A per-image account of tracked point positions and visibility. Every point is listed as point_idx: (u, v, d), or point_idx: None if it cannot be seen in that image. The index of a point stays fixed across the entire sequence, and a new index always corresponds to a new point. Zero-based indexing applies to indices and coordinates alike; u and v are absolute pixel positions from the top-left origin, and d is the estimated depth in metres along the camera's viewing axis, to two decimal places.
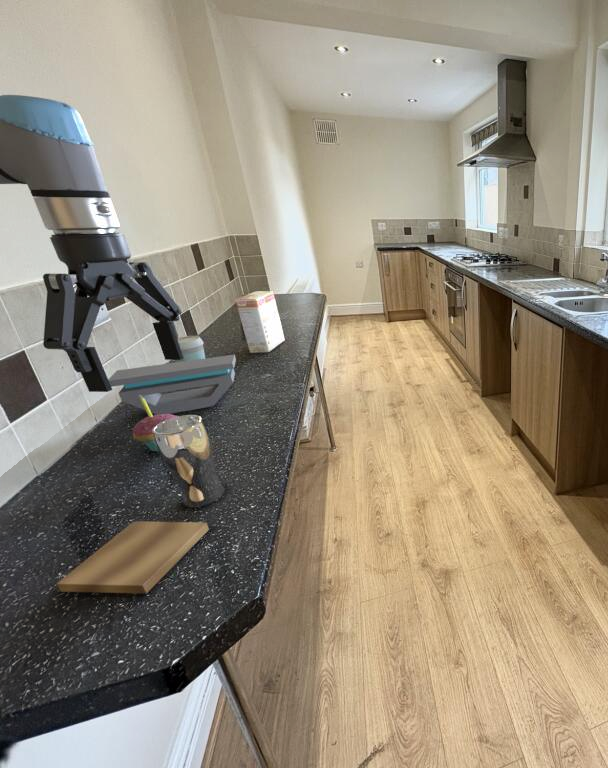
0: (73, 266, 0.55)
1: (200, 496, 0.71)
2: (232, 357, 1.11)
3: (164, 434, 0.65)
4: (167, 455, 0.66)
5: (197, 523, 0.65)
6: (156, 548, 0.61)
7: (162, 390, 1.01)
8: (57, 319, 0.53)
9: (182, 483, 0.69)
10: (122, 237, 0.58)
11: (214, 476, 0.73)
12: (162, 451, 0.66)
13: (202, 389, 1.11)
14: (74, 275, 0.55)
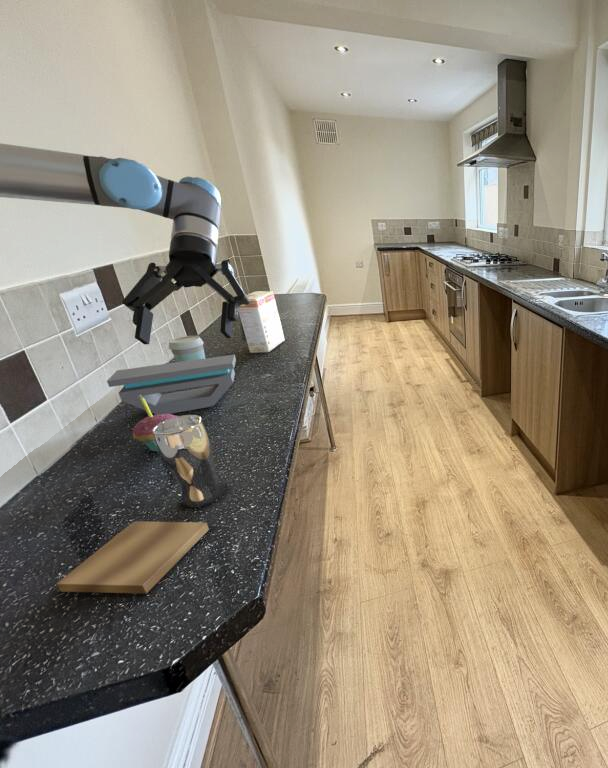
0: (214, 262, 0.83)
1: (200, 496, 0.71)
2: (232, 357, 1.11)
3: (164, 434, 0.65)
4: (167, 455, 0.66)
5: (197, 523, 0.65)
6: (156, 548, 0.61)
7: (162, 390, 1.01)
8: (240, 287, 0.82)
9: (182, 483, 0.69)
10: None
11: (214, 476, 0.73)
12: (162, 451, 0.66)
13: (202, 389, 1.11)
14: None
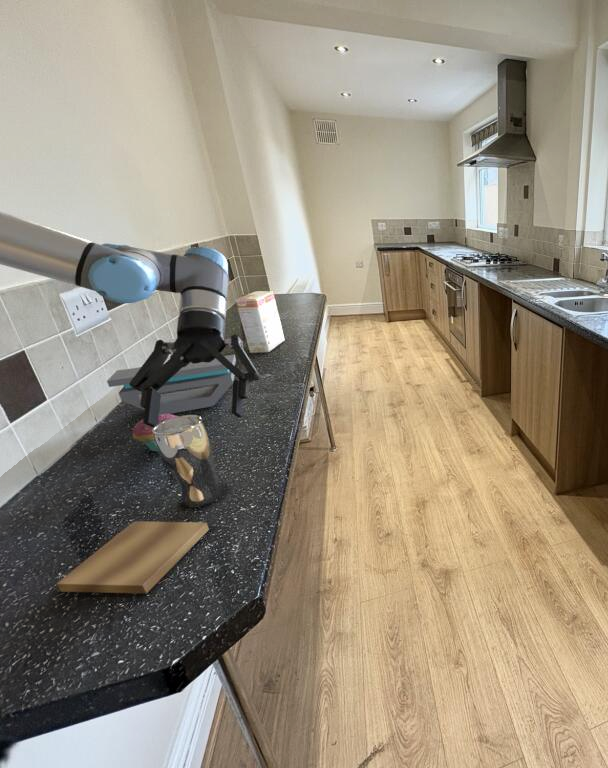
0: (223, 336, 0.81)
1: (200, 496, 0.71)
2: (232, 357, 1.11)
3: (164, 434, 0.65)
4: (167, 455, 0.66)
5: (197, 523, 0.65)
6: (156, 548, 0.61)
7: (162, 390, 1.01)
8: (250, 362, 0.80)
9: (182, 483, 0.69)
10: None
11: (214, 476, 0.73)
12: (162, 451, 0.66)
13: (202, 389, 1.11)
14: None
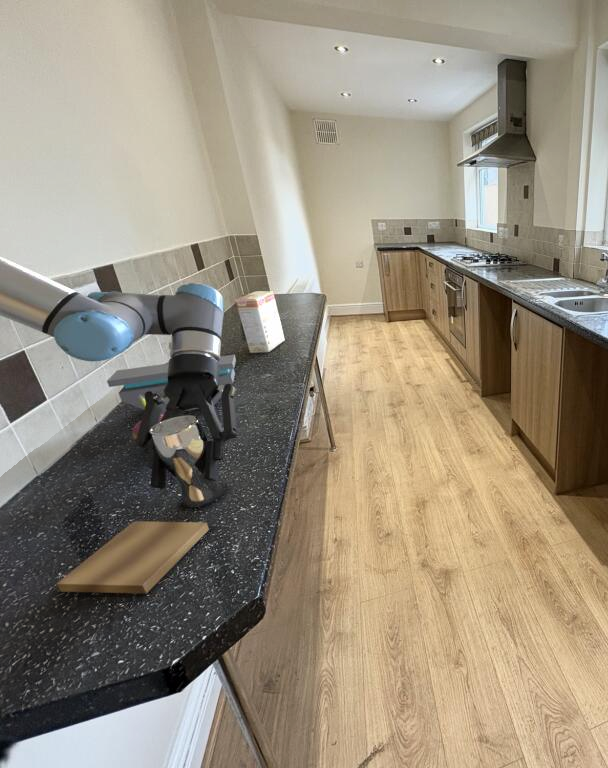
0: (217, 379, 0.76)
1: (200, 496, 0.71)
2: (232, 357, 1.11)
3: (161, 434, 0.65)
4: (165, 456, 0.66)
5: (197, 523, 0.65)
6: (156, 548, 0.61)
7: None
8: (234, 416, 0.74)
9: (181, 483, 0.69)
10: None
11: None
12: (160, 451, 0.66)
13: None
14: None
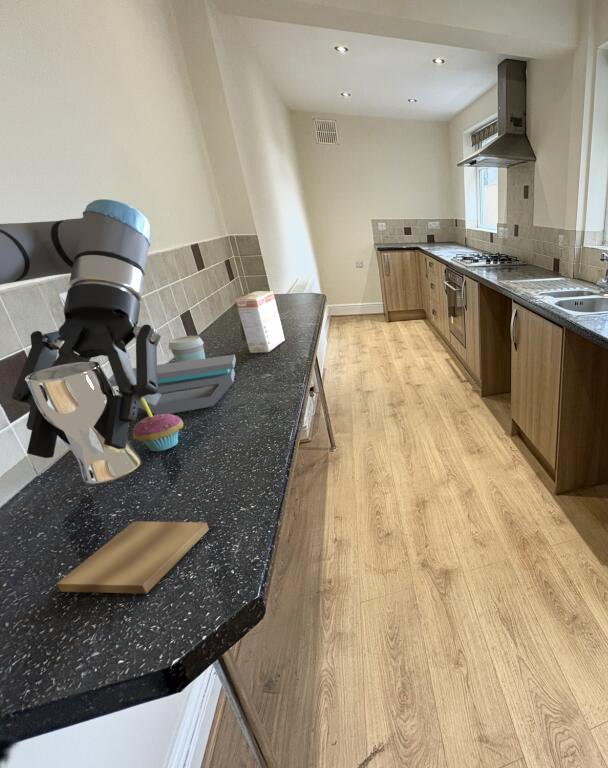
0: (133, 320, 0.59)
1: (103, 468, 0.54)
2: (232, 357, 1.11)
3: (39, 381, 0.48)
4: (47, 412, 0.49)
5: (197, 523, 0.65)
6: (156, 548, 0.61)
7: (162, 390, 1.01)
8: (153, 367, 0.57)
9: (75, 451, 0.52)
10: None
11: None
12: (40, 406, 0.49)
13: (202, 389, 1.11)
14: None
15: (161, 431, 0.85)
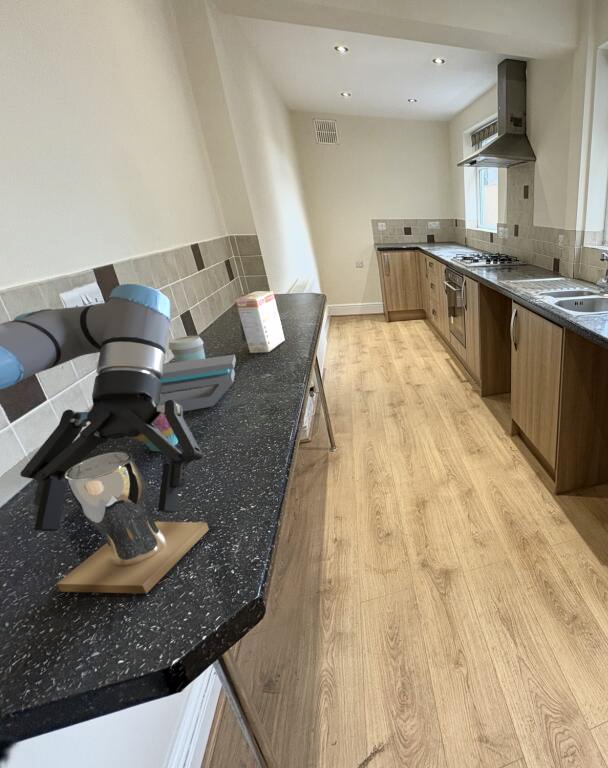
0: (156, 401, 0.62)
1: (131, 552, 0.58)
2: (232, 357, 1.11)
3: (78, 480, 0.52)
4: (84, 505, 0.53)
5: (197, 523, 0.65)
6: None
7: (162, 390, 1.01)
8: (190, 435, 0.62)
9: (107, 537, 0.56)
10: None
11: (151, 525, 0.59)
12: (77, 500, 0.53)
13: (202, 389, 1.11)
14: None
15: (161, 431, 0.85)
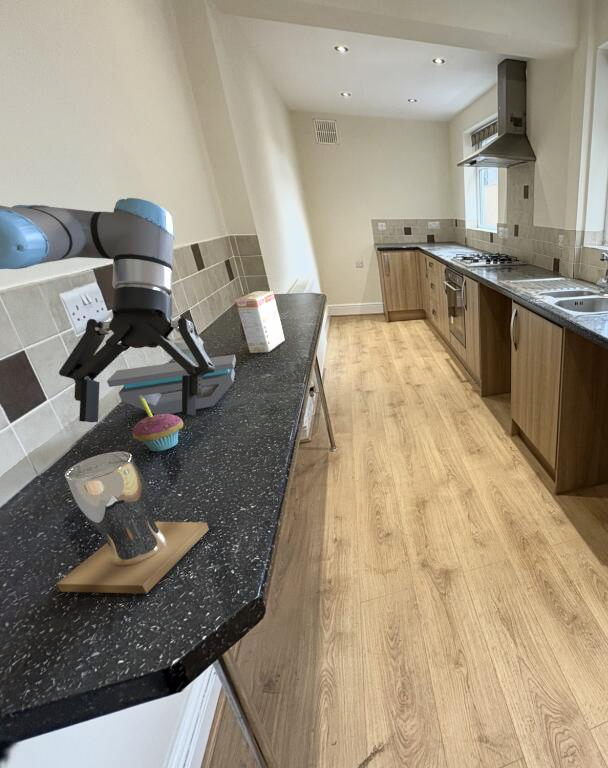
0: (169, 316, 0.69)
1: (131, 552, 0.58)
2: (232, 357, 1.11)
3: (78, 480, 0.52)
4: (84, 505, 0.53)
5: (197, 523, 0.65)
6: None
7: (162, 390, 1.01)
8: (203, 351, 0.70)
9: (107, 537, 0.56)
10: None
11: (151, 525, 0.59)
12: (77, 500, 0.53)
13: (202, 389, 1.11)
14: None
15: (161, 431, 0.85)
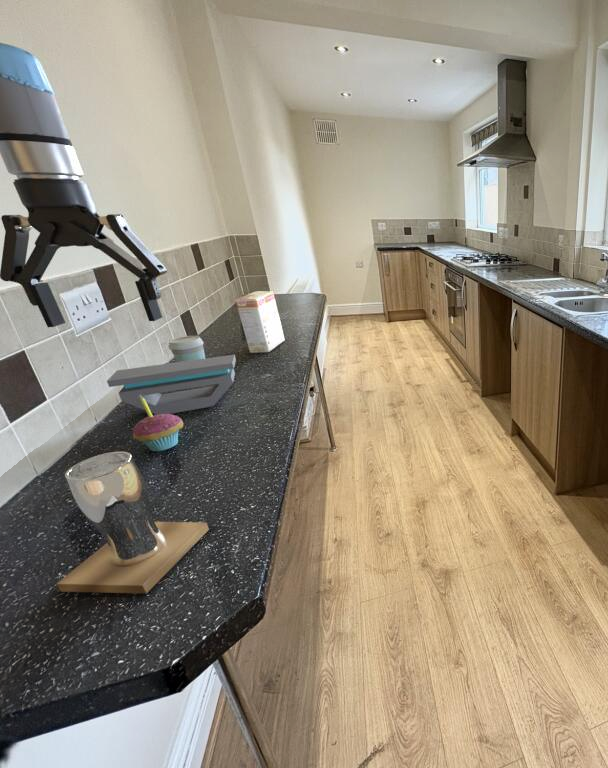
0: (93, 210, 0.62)
1: (131, 552, 0.58)
2: (232, 357, 1.11)
3: (78, 480, 0.52)
4: (84, 505, 0.53)
5: (197, 523, 0.65)
6: None
7: (162, 390, 1.01)
8: (147, 251, 0.66)
9: (107, 537, 0.56)
10: None
11: (151, 525, 0.59)
12: (77, 500, 0.53)
13: (202, 389, 1.11)
14: None
15: (161, 431, 0.85)
